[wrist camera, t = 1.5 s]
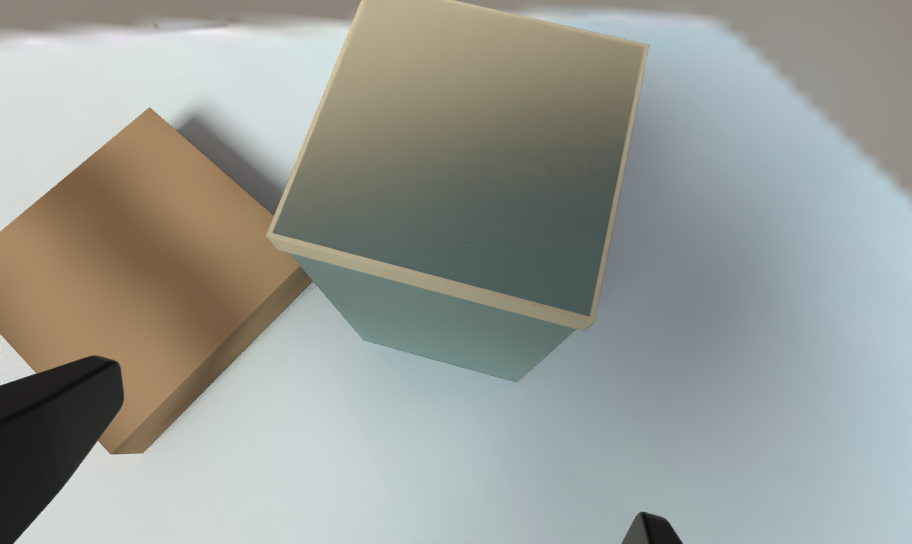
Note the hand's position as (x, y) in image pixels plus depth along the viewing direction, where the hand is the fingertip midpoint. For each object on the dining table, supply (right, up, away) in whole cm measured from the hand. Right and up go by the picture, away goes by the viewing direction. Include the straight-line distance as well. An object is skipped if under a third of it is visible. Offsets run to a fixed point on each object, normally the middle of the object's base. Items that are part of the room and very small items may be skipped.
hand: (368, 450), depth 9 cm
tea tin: (+2, +2, +14) cm, 14 cm away
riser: (-11, +3, +14) cm, 18 cm away
